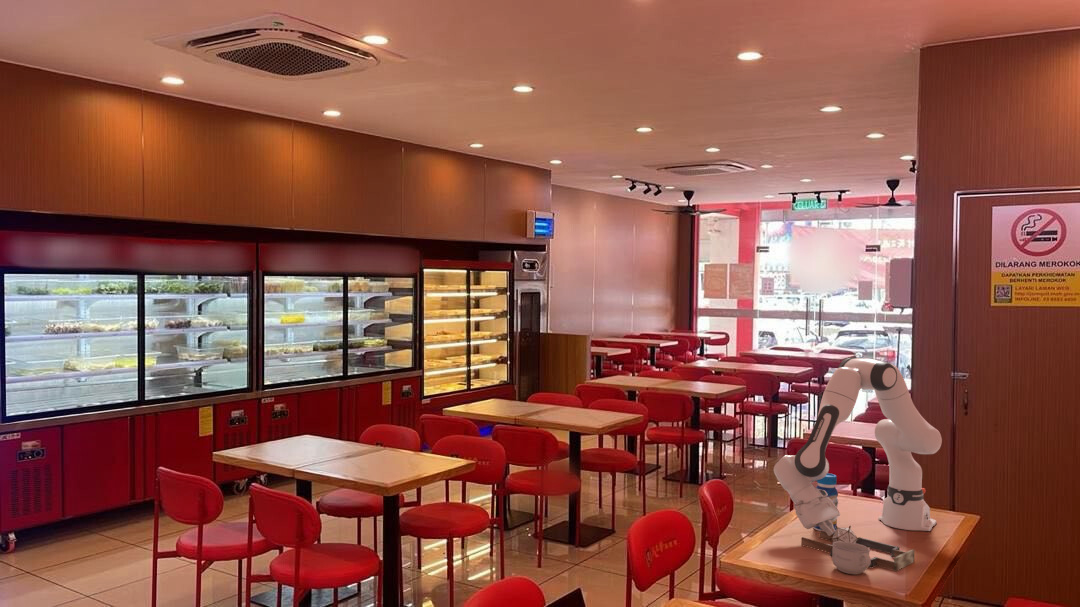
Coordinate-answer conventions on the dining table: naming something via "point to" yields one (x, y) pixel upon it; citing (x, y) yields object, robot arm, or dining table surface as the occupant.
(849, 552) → the teacup
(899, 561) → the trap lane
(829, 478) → the beverage bottle
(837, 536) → the game die
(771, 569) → the dining table surface
